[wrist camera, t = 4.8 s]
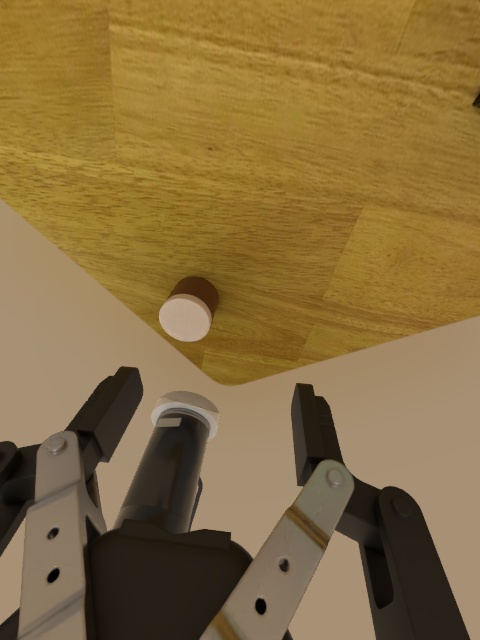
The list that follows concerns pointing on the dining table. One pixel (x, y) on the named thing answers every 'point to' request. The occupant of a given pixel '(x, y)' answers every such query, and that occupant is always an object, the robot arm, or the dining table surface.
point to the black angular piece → (477, 101)
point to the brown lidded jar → (189, 309)
